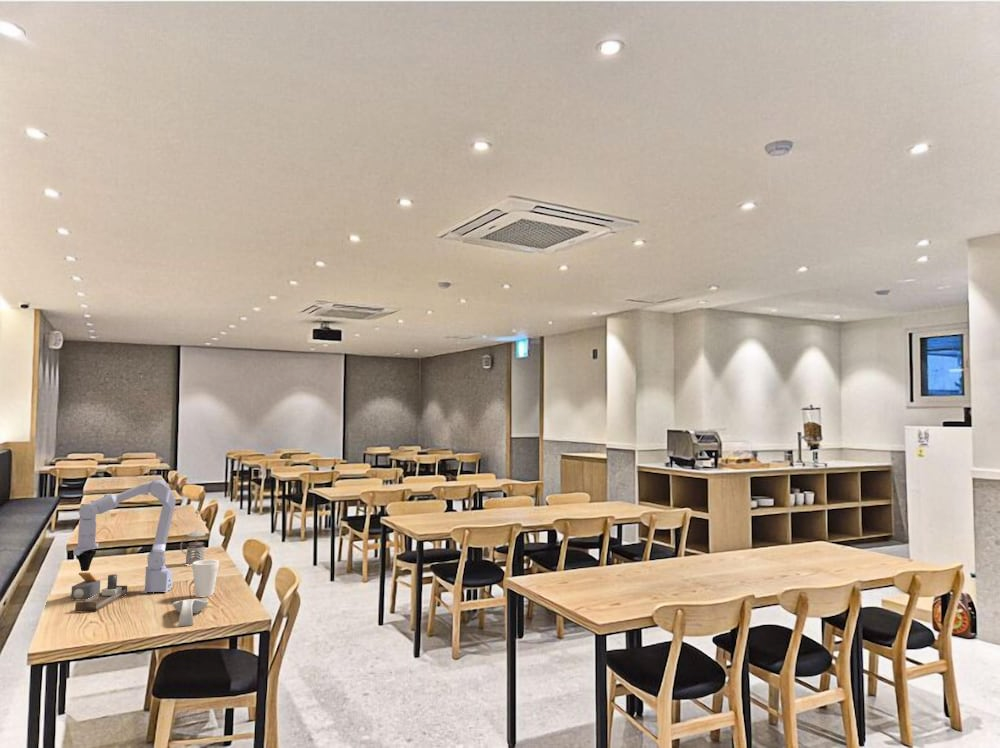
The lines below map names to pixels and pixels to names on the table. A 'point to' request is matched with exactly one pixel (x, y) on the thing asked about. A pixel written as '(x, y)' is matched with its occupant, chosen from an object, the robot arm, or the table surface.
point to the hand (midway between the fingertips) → (84, 570)
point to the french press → (192, 546)
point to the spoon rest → (189, 609)
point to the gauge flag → (87, 576)
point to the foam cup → (205, 576)
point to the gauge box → (85, 589)
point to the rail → (99, 601)
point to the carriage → (111, 586)
